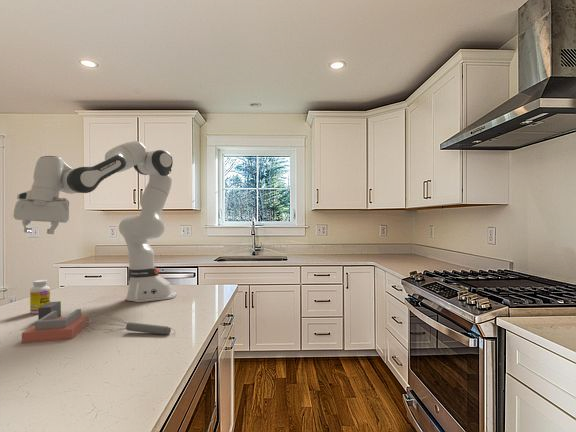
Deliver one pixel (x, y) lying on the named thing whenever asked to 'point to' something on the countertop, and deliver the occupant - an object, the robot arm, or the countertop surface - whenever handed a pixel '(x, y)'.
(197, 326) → the countertop surface
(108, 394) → the countertop surface
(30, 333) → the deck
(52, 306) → the dark gray eraser
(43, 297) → the supplement bottle
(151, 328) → the kitchen whisk
